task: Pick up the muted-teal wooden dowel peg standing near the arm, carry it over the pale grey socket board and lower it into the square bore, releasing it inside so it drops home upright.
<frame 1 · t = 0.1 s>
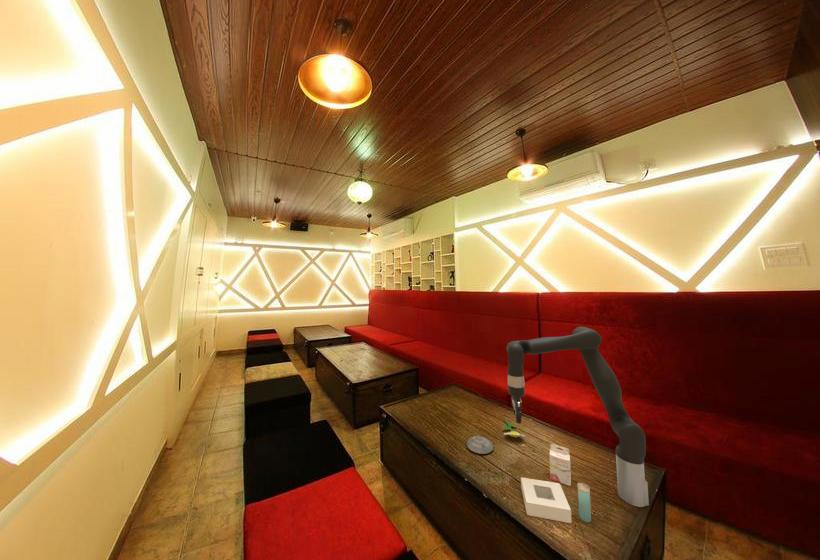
hand: (517, 418, 122), 29 cm above the table, fingers open, 8 cm apart
socket board: (544, 504, 107), on the table
ink cartridge box: (560, 480, 121), on the table
decorative flower: (510, 432, 162), on the table
flying saucer: (479, 448, 147), on the table
peg: (585, 517, 101), on the table
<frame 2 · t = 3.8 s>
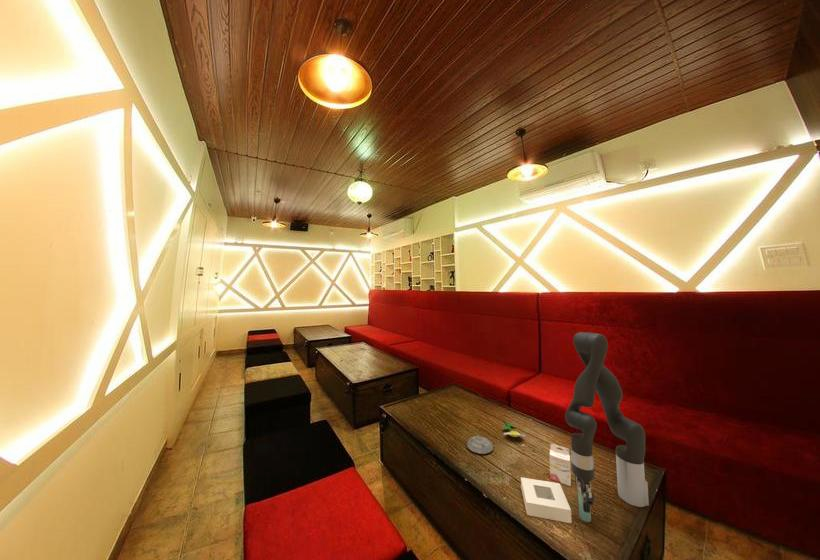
hand: (584, 506, 101), 4 cm above the table, fingers closed on peg, 4 cm apart
peg: (585, 517, 101), on the table, touching gripper
everything else where it was.
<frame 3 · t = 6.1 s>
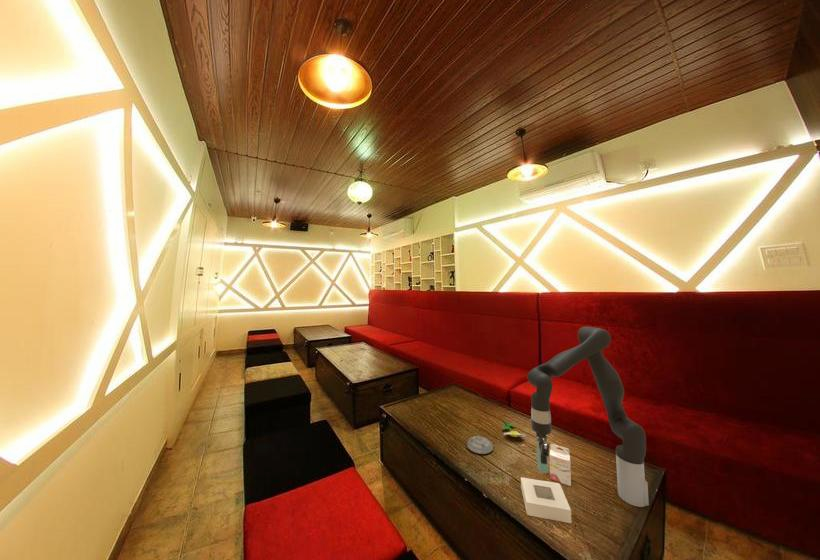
hand: (542, 459, 108), 19 cm above the table, fingers closed on peg, 4 cm apart
peg: (542, 469, 108), point 14 cm above the table, touching gripper
everything else where it was.
when the fingers open (6 cm above the table, at t = 8.4 s): peg drops 2 cm, resting in socket board.
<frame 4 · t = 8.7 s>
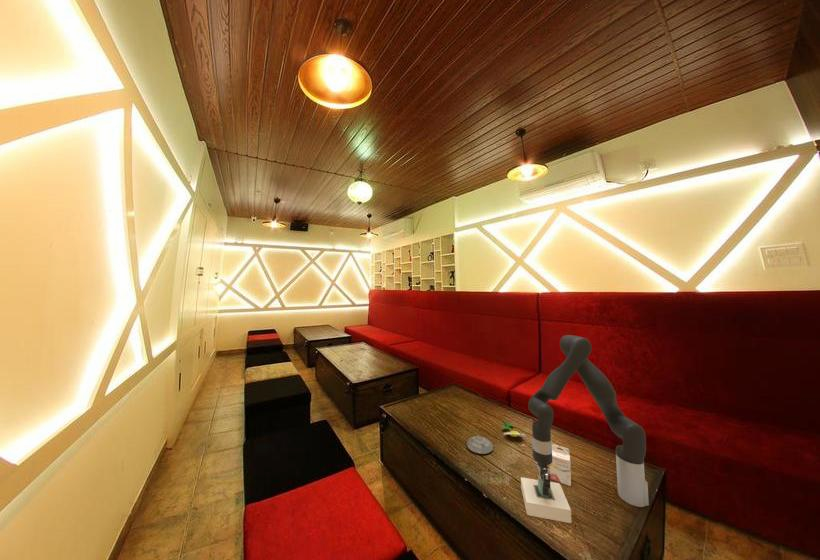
hand: (543, 488, 107), 7 cm above the table, fingers open, 6 cm apart
peg: (544, 504, 107), resting in socket board
everything else where it was.
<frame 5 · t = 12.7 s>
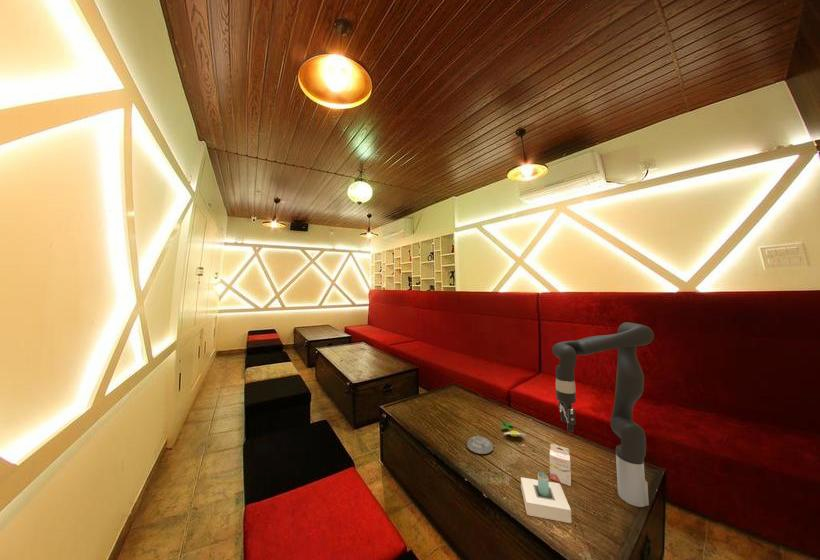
hand: (567, 426, 112), 30 cm above the table, fingers open, 8 cm apart
at the end: peg 0.1 cm off-centre on the socket board, point 0.0 cm above the socket board's base; peg tilted 1°; the gripper is holding nothing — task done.
